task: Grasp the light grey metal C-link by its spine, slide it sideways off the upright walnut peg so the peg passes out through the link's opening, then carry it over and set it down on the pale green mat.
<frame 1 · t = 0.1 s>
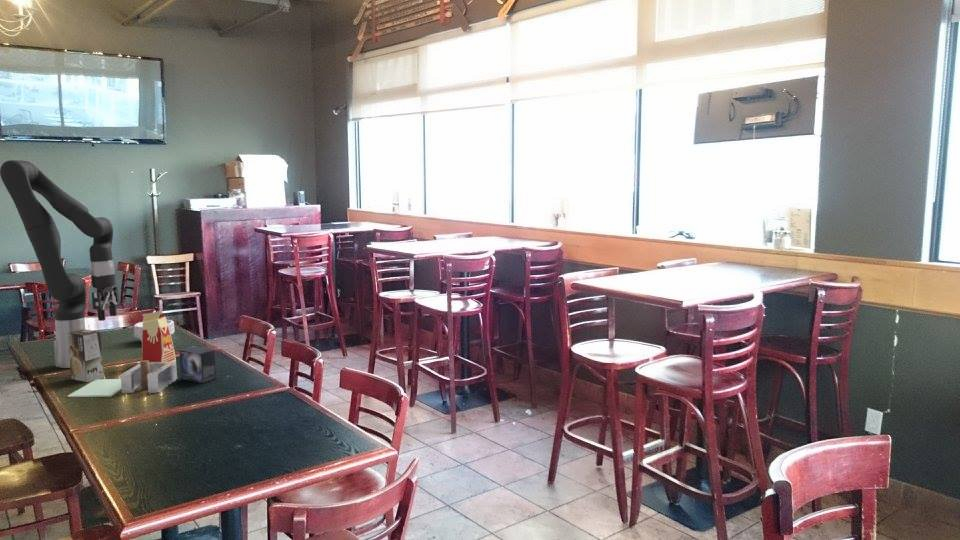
hand: (107, 318, 253), 17 cm above the table, tool pointing down, fingers open, 8 cm apart
small box: (198, 380, 236), on the table
paper bowls: (155, 342, 292), on the table
c link: (158, 380, 235), on the table
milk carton: (157, 364, 256), on the table
mat: (103, 388, 226), on the table
stand: (146, 388, 225), on the table
coffee box: (87, 379, 237), on the table
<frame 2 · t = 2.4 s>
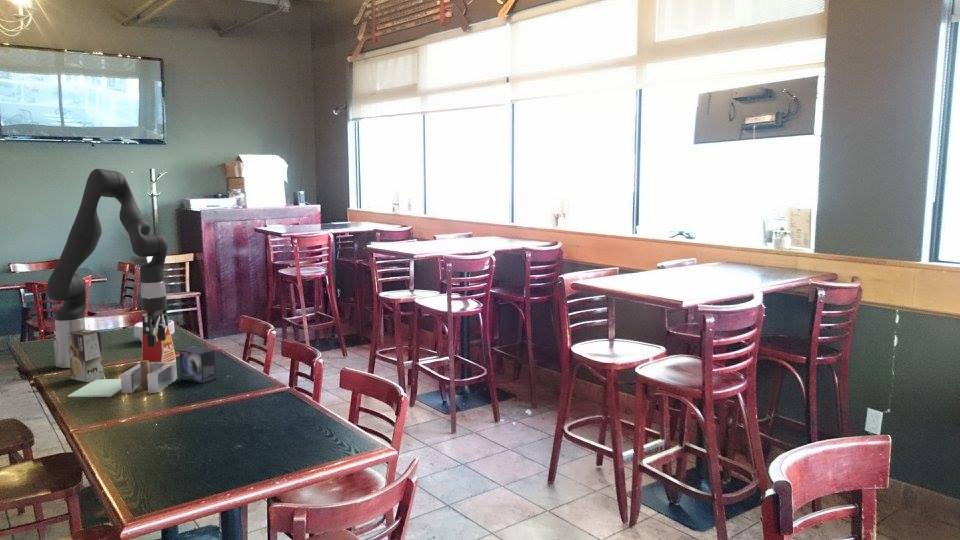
hand: (156, 343, 233), 13 cm above the table, tool pointing down, fingers open, 8 cm apart
nothing on the table moved.
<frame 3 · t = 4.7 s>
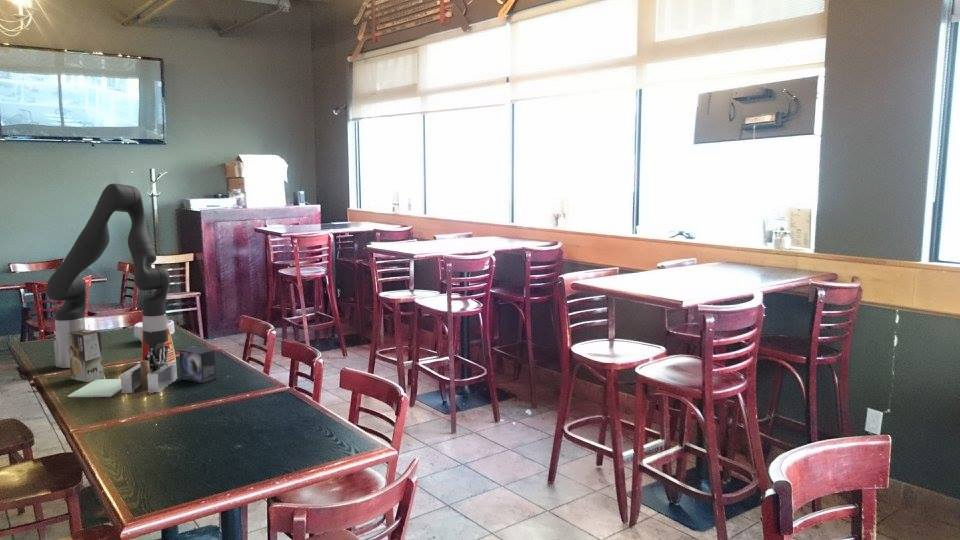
hand: (158, 378, 235), 1 cm above the table, tool pointing down, fingers closed on c link
c link: (158, 380, 235), on the table, touching gripper
everything else where it was.
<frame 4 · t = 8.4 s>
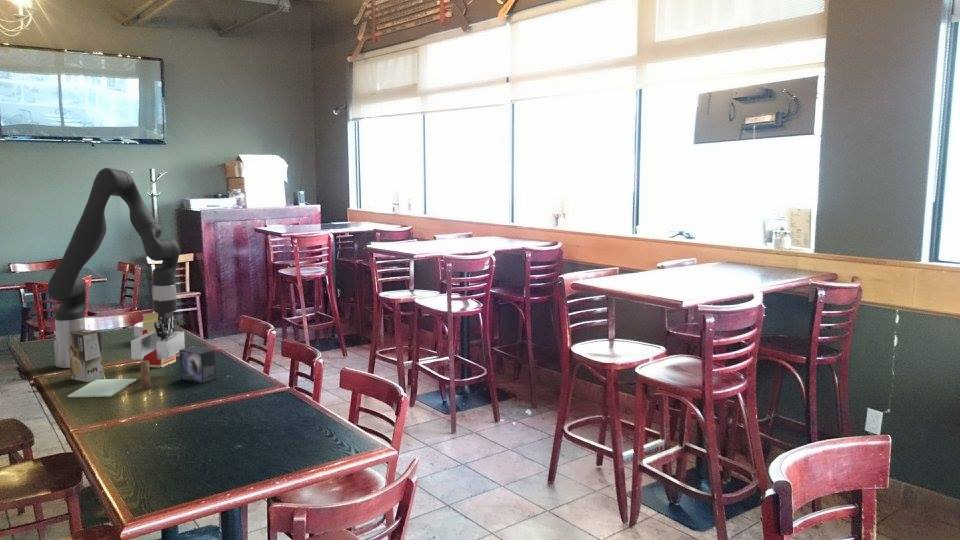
hand: (166, 346, 243), 9 cm above the table, tool pointing down, fingers closed on c link
c link: (166, 349, 243), point 8 cm above the table, touching gripper
everything else where it was.
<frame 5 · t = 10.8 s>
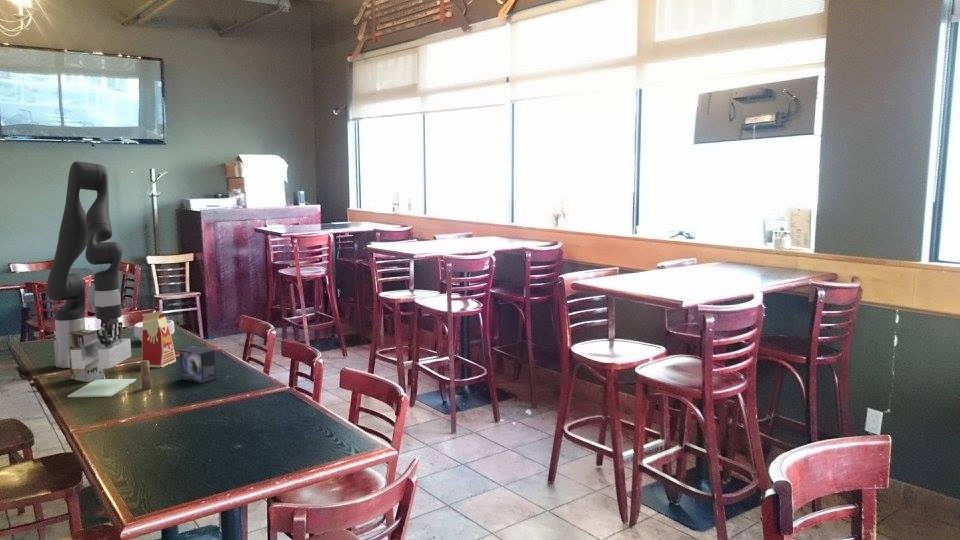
hand: (111, 355, 231), 9 cm above the table, tool pointing down, fingers closed on c link
c link: (112, 357, 231), point 9 cm above the table, touching gripper
everything else where it was.
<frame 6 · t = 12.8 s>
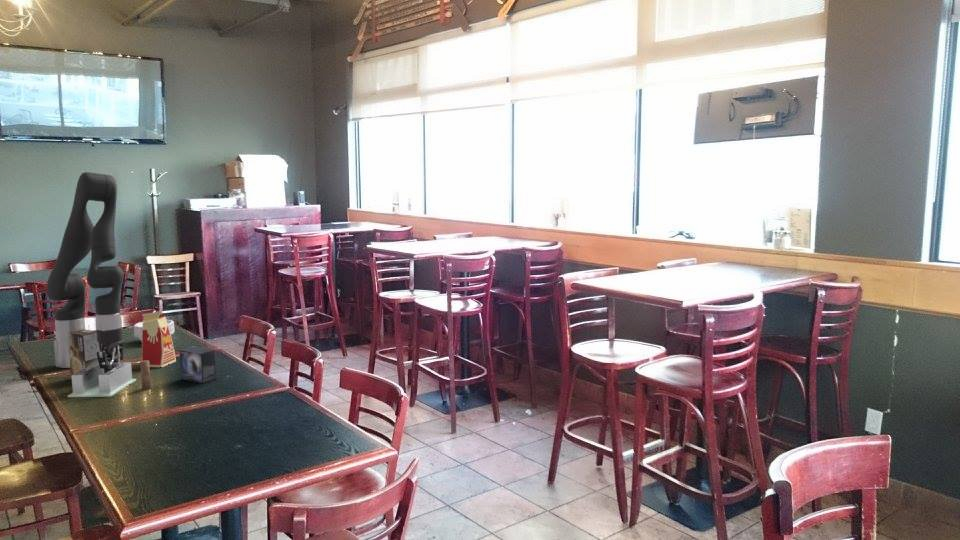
hand: (112, 377, 232), 2 cm above the table, tool pointing down, fingers open, 4 cm apart
c link: (113, 381, 232), resting on mat
everything else where it was.
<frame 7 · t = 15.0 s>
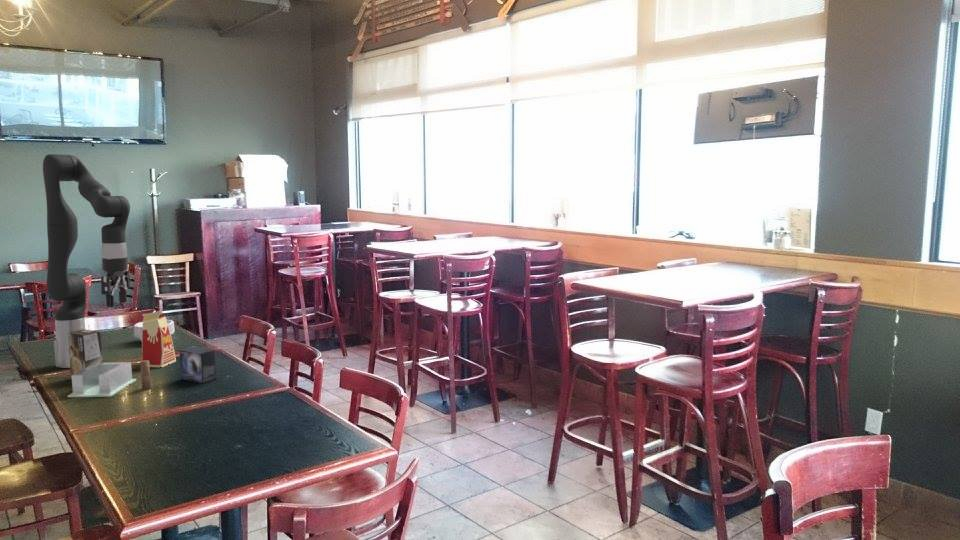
hand: (116, 304, 235), 25 cm above the table, tool pointing down, fingers open, 8 cm apart
nothing on the table moved.
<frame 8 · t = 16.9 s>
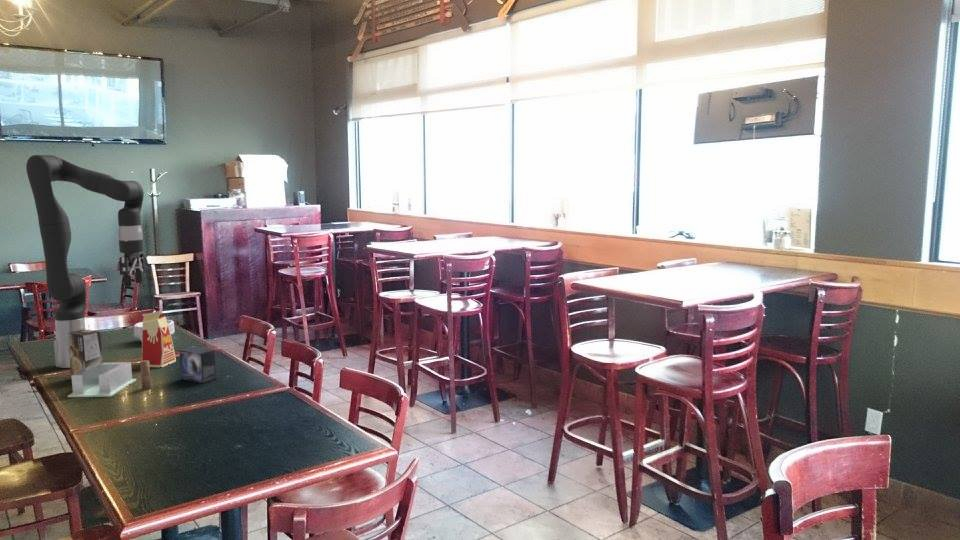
hand: (133, 284, 246), 30 cm above the table, tool pointing down, fingers open, 8 cm apart
nothing on the table moved.
at the end: c link inside the target area (0.6 cm from its centre), point 0.5 cm above the table; c link touching mat; the gripper is holding nothing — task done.
